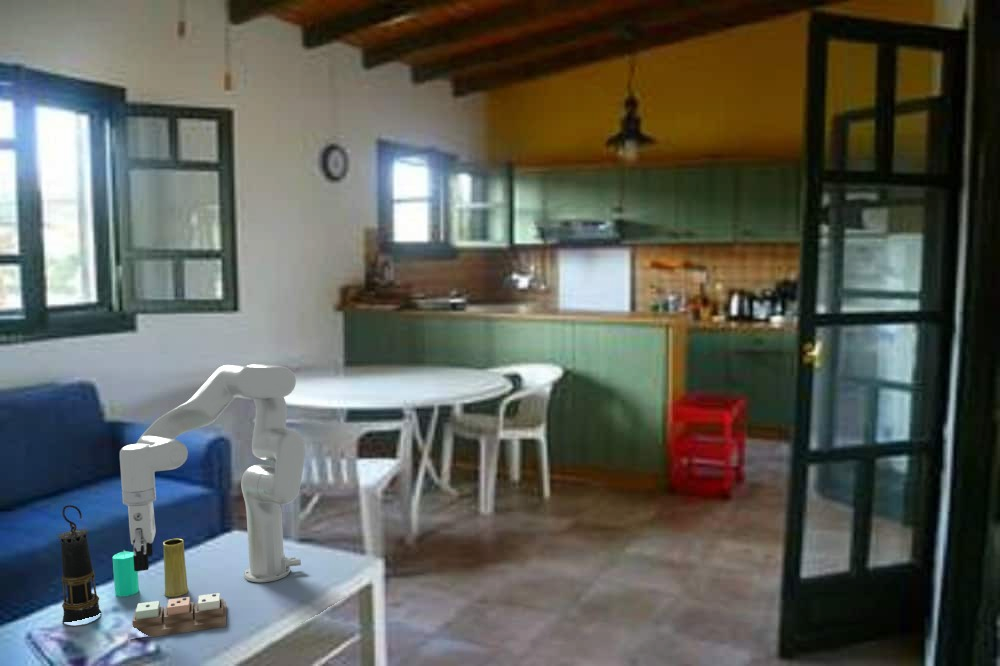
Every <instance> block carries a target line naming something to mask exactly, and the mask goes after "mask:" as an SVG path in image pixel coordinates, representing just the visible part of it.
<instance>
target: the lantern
mask: <svg viewBox="0 0 1000 666" xmlns="http://www.w3.org/2000/svg"><path fill="white" fill-rule="evenodd" d="M67 508H72V509H75V510H77V513H78V514H79V519H80V520H81V519H82V517H83V516H82V515H83V514H82V512H81V510H80V508H79V507H77V506H76V505H70V504H67V505H64V506H63V509H62V517H63V519H64V520H65V521H66V522H67V523H69V526H70V530H68V531H66V532H62V533H60V534H58V536H57V538H58V539H60V547H61V549H60V550H61V564H62V565H61V566H62V576H61V584H62V590H63V592H62V593H63V603H62V606H61V607H62V609H63V616H62V623H63V622H72V621H77V620H82V619H85V618H89V617H93V616H96V615H98V614H99V613H102V611H101V609H100V604H99V602H100V601H99V600H100V597H99V596H98V595H97V590H96V589H97V588H96V582H95V578H96V577H95V576H96V575H95V571H94V569H93V568H94V567H93V564H92V558H91V554H90V549H89V548H90V546H89V541H88V536H87V535H88V534H89V531H90V530H89V529H83V528H81V529H77V528H78V527H77V525H76V523H75V522H73V521H71V520H69V519H68V518H67V517H66V513H65V511H66V509H67ZM92 585H93V587H92ZM92 588H93V592H92ZM66 590H67V591H66ZM66 592H67V596H66ZM66 597H67V598H66Z"/></svg>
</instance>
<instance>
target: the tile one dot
mask: <svg viewBox="0 0 1000 666" xmlns="http://www.w3.org/2000/svg"><path fill="white" fill-rule="evenodd" d="M160 607H161V606H160V600H154V601H146V602H140V603H139V602H138V603H137V606H136V608H135V610H136V620H138V619H145V618H152V617H159V612H160Z"/></svg>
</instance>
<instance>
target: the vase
mask: <svg viewBox="0 0 1000 666" xmlns="http://www.w3.org/2000/svg"><path fill="white" fill-rule="evenodd" d="M162 547H163V551H162V553H163V566H164V571H163V572H164V596H166V597H168V598H169V597H170V598H177V596H178V597H181V595H182V596H184V595H186V594H187V593H189V588H188V587H189V586H188V578H187V566H186V556H185V555H186V554H185V545H184V539H182V538H172V539H167V540H164V541H163V542H162Z"/></svg>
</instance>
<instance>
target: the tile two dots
mask: <svg viewBox="0 0 1000 666" xmlns="http://www.w3.org/2000/svg"><path fill="white" fill-rule="evenodd" d="M220 599H221V595H220V592H217V593H215V592H214V593H207V594H200V595H198V601H197V602H198V610H199V611H205V610H212V609H219V608H220Z"/></svg>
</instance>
